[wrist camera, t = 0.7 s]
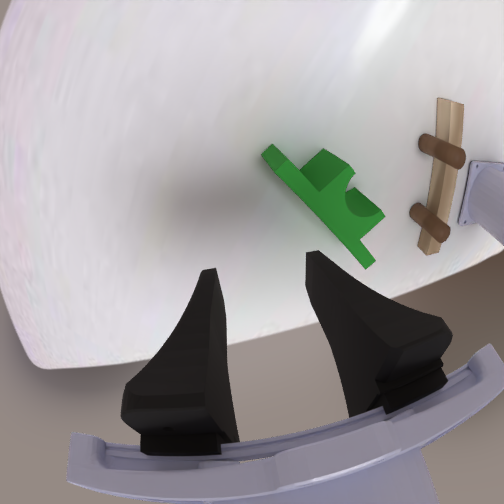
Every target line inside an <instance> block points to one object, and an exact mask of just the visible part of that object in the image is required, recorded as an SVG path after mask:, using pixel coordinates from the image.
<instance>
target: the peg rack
mask: <svg viewBox="0 0 504 504" xmlns="http://www.w3.org/2000/svg"><path fill="white" fill-rule="evenodd" d="M463 117H464V104H461V103H457V102H453V101H449V100H445V99H441V98H437V128H436V137H434V136H431V135H429V134H423V135H422V136H421V137H420V139H419V148H420V150H421V151H422V152H424V153H426V154H428V155H430V156H432V157H434V161H433V169H432V177H431V183H430V190H429V195H428V201H427V206H426V207H425V206H423V205H422V204H421V203H416V204H414V205H413V206H412V207H411V209H410V217H411V218H412V219H413V220H414V221H415V222H417V223H418V224H419V225H420V226H421V227H422V230H421V234H420V238H419V242H418V247H419V248H420V249H421V250H422V251H423V252H424V253H425V255H426V256H427V255H431V254H434V253H438V252H439V250H440V247H441V243H443V242H444V241H446V240H447V238H448V237H449V235H450V227H449V226H448V225H447V222H448V218H449V213H450V209H451V205H452V200H453V195H454V190H455V185H456V179H457V173H458V169H461V168H462V167H463V165H464V163H465V160H466V154H465V151H464V150H463V149H462V148H461V143H462V132H463Z"/></svg>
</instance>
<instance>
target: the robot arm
mask: <svg viewBox="0 0 504 504" xmlns="http://www.w3.org/2000/svg"><path fill="white" fill-rule="evenodd" d="M458 223H459V225H460V226H463V225H468V224H473V223H478V224H479V225H480V226H482V227H483V228H484V229H485V230H486V231H488V232H489V233H490V234H491V235H492V236H493V237H495V238H496V239H497V240H498V241H499V242H500V243H501V244H502V245H503V246H504V163H494V162H482V161H472V162H471V164H470V170H469V176H468V182H467V187H466V192H465V197H464V201H463V206H462V210H461V214H460V218H459V222H458ZM305 286H306V289H307V293H308V296H309V299H310V302H311V305H312V307H313V309H314V311H315V313H316V315H317V318H318V320H319V322H320V324H321V326H322V328H323V331H324V333H325V335H326V337H327V339H328V341H329V344H330V346H331V349H332V353H333V355H334V359H335V362H336V365H337V369H338V372H339V376H340V379H341V383H342V387H343V391H344V395H345V399H346V404H347V409H348V413H349V418H347V419H344V420H341V421H338V422H334V423H331V424H328V425H324V426H320V427H317V428H313V429H309V430H305V431H301V432H296V433H291V434H287V435H282V436H276V437H271V438H265V439H259V440H252V441H245V442H240V441H239V435H238V430H237V425H236V420H235V414H234V408H233V402H232V395H231V389H230V382H229V374H228V366H227V328H226V313H225V305H224V299H223V295H222V291H221V287H220V283H219V278H218V274H217V270H216V268H213V269H207V270H202V272H201V274H200V277H199V280H198V282H197V285H196V287H195V290H194V292H193V295H192V297H191V299H190V301H189V303H188V305H187V307H186V309H185V311H184V313H183V315H182V317H181V319H180V320H179V322H178V324H177V326H176V327H175V329H174V330H173V332H172V333H171V335H170V336H169V338H168V339H167V340H166V342H165V343H164V345H163V346H162V347H161V349H160V350H159V351H158V352H157V354H156V355H155V356H154V357H153V358H152V359H151V360H150V361H149V363H148V364H147V365H146V366H145V367H144V368H143V369H142V370H141V371H140V372H139V373H138V374H137V375H136V376H135V377H133V378H132V379H131V380H130V381H129V382H128V383H127V384H126V386H125V390H124V393H123V399H122V407H121V419H122V420H123V421H124V422H125V423H126V424H127V425H128V426H130V427H131V428H133V429H134V430H135V431H137V432H138V433H140V434H141V441H140V446H139V445H127V444H116V443H108V442H105V441H104V440H102V439H101V438H99V437H96V436H93V435H88V434H82V433H76V432H72V433H71V439H70V446H69V456H68V465H67V482H69V483H72V484H74V485H78V486H81V487H84V488H87V489H90V490H93V491H97V492H101V493H105V494H109V495H114V496H119V497H125V498H131V499H137V500H144V501H152V502H163V503H176V504H440V503H439V500H438V497H437V494H436V491H435V488H434V485H433V482H432V479H431V476H430V473H429V471H428V468H427V465H426V462H425V460H424V457H423V455H422V452H421V448H423V447H425V446H427V445H429V444H430V443H432V442H434V441H435V440H437V439H439V438H440V437H442V436H444V435H445V434H447V433H448V432H450V431H451V430H453V429H454V428H456V427H457V426H459V425H460V424H462V423H463V422H465V421H466V420H467V419H468V418H470V417H471V416H473V415H474V414H475V413H477V412H478V411H479V410H481V409H482V408H483V407H485V406H486V405H487V404H488V403H489V402H491V401H492V400H493V399H494V398H495V397H496V396H497V395H498V394H499V393H501V392H502V391H503V390H504V364H503V362H502V360H501V359H500V357H499V356H498V354H497V352H496V351H495V349H494V348H493V346H492V345H491V344H488V345H486V346H485V347H483V348H482V349H480V350H479V351H477V352H476V353H475V354H474V355H473V356H472V357H471V358H470V360H469V361H468V363H467V364H465V365H464V366H462V367H460V368H459V369H457V370H456V371H454V372H452V373H450V374H448V375H447V376H446V375H445V374H444V372H443V370H442V368H441V367H443V362H442V360H441V359H440V358H441V356H442V355H443V354H444V352H445V351H446V349H447V348H448V346H449V344H450V343H451V340H452V336H453V335H452V332H451V330H450V329H449V328H448V326H447V325H446V323H445V322H444V320H443V319H442V318H441V317H437V316H434V315H430V314H427V313H423V312H420V311H417V310H414V309H412V308H409V307H406V306H404V305H401V304H399V303H397V302H395V301H393V300H391V299H388V298H387V297H385V296H383V295H381V294H379V293H377V292H376V291H374V290H372V289H370V288H369V287H367V286H365V285H364V284H362V283H361V282H359V281H358V280H356V279H355V278H354V277H352V276H351V275H349V274H348V273H347V272H345V271H344V270H343V269H341V268H340V267H339V266H338V265H336V264H335V263H334V262H333V261H331V260H330V259H329V258H328V257H326V256H325V255H324V254H323V253H321V252H320V251H319V250H318V251H312V252H306V281H305ZM272 456H274V457H272ZM266 457H270V458H266ZM259 458H265V459H261V460H256V461H251V462H246V463H240V462H238V461H245V460H253V459H259Z"/></svg>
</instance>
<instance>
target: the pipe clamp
mask: <svg viewBox="0 0 504 504" xmlns="http://www.w3.org/2000/svg"><path fill="white" fill-rule="evenodd" d="M261 155H262V156H263V158H264V159H265V160H266V162H267V163H268V165H269V166H270V167H271V169H272V170H273V171H274V173H275V174H276V175H277V176H278V177H280V178H281V179H282V180H283V181H284V182H285V183H286V184H287V185H288V186H289V187H290V188H291V189H292V190H293V191H294V192H295V193H296V194H297V195H298V196H299V197H300V198H301V199H302V201H303V202H304V203H305V204H306V205H307V206H308V207H309V208H310V209H311V210H312V211H313V212H314V213H315V214H316V215H317V216H318V217H319V218H320V219H321V220H322V221H323V222H324V224H325V225H326V226H327V227H328V228H329V229H330V230H331V231H332V232H333V233H334V234H335V236H336V237H337V238H338V239H339V240H340V241H341V242H342V243H343V244H344V245H345V247H346V248H347V249H348V250H349V251H350V252H351V253H352V255H353V256H354V257H355V258H356V259H357V260H358V261H359V263H360V264H361V265H362V266H363V267H364V268H365V270H366V269H367V268H368V267H369V266H370V265H372V264H373V263H374V262H375V261H376V260H375V259H374V257H373V256H372V255H371V254H370V252H369V251H368V250H367V248H366V247H365V246H364V245H363V243H362V242H361V241H360V239H361V238H362V237H363V236H364V235H365V234H367V233H368V232H369V231H370V230H371V229H372V228H373V227H374V226H376V225H377V224H378V223H379V222H380V221H381V220H382V219H383V218H384V217H385V215H384V214H383V212H382V210H381V209H380V208H378V207H377V206H376V205H375V204H374V203H373V202H371V201H370V200H369V199H368V198H367V197H366V196H364V195H363V194H362V193H361V192H360V191H358V190H357V189H356V188H355V187H354V188H353V189H351V190H350V191H347V192H346V188H347V185H348V183H349V181H350V179H351V178H352V177H353V175H354V174H355V172H354V170H353V169H352V168H351V166H350V165H349V164H347V163H346V162H344V161H343V160H341V159H340V158H338V157H337V156H335V155H333V154H332V153H330V152H329V151H327V150H325V149H324V148H323V149H322V150H321V151H320V152H319V153H318V154H317V155H316V156H315V157H314V158H312V159H311V160H310V161H309V162H308V163H307V164H306V165H305V166H304V167H303V168H301V169H300V170H298V169H297V168H296V167H295V165H294V164H293V163H292V162H291V161H290V160H289V159H288V158H287V157H286V156H285V155H284V154H282V153H281V152H280V151H279V150H278V149H277V148H276V147H275V146H274V145H273V144H271V145H270V146H269V147H268V148H267V149H266V150H265V151H264V152H263V153H262V154H261Z"/></svg>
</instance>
